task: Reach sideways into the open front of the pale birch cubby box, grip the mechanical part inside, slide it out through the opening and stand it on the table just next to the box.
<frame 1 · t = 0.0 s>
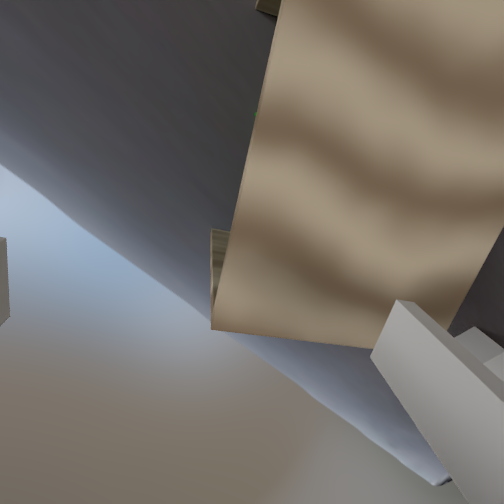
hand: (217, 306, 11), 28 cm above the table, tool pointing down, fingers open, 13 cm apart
cubby box: (302, 149, 37), on the table
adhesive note: (462, 346, 53), on the table
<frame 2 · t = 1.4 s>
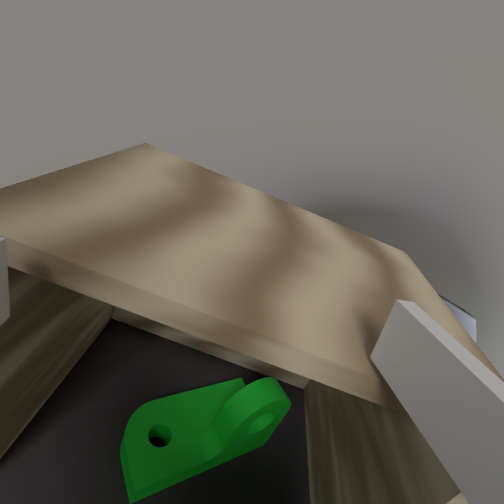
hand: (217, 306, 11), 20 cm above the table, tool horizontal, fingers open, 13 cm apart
cubby box: (189, 424, 28), on the table
mechanical part: (192, 437, 27), on the table
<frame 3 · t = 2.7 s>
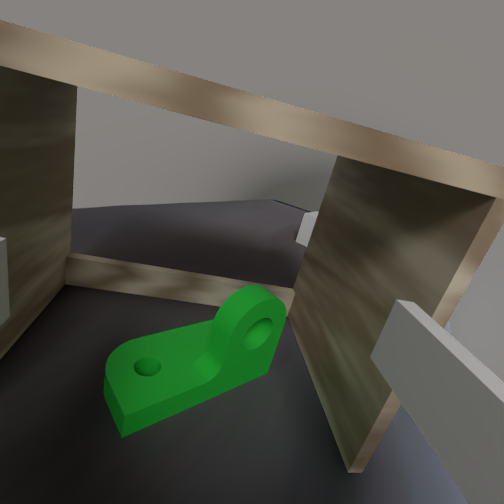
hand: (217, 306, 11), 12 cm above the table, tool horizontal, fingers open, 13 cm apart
cubby box: (176, 358, 25), on the table
mechanical part: (186, 374, 24), on the table
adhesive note: (314, 246, 63), on the table
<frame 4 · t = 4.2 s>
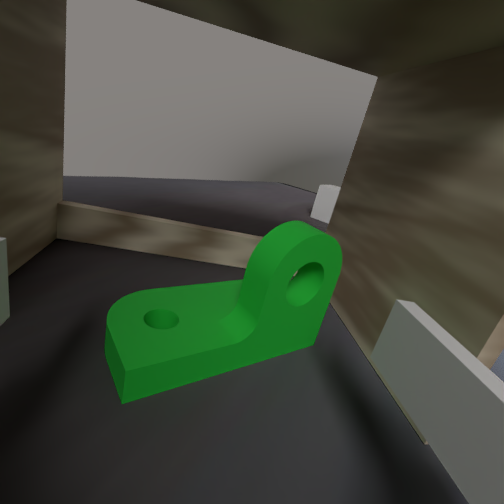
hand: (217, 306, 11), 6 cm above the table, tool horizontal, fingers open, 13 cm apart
cubby box: (191, 314, 21), on the table
mechanical part: (210, 339, 19), on the table
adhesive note: (330, 222, 58), on the table
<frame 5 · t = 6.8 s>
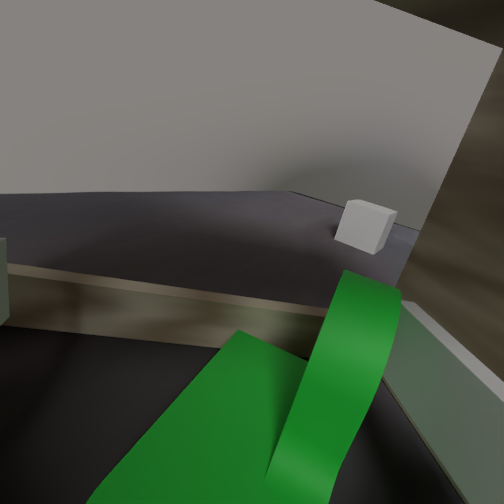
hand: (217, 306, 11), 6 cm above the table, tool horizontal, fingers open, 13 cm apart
mechanical part: (229, 490, 11), on the table, touching gripper
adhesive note: (358, 245, 48), on the table
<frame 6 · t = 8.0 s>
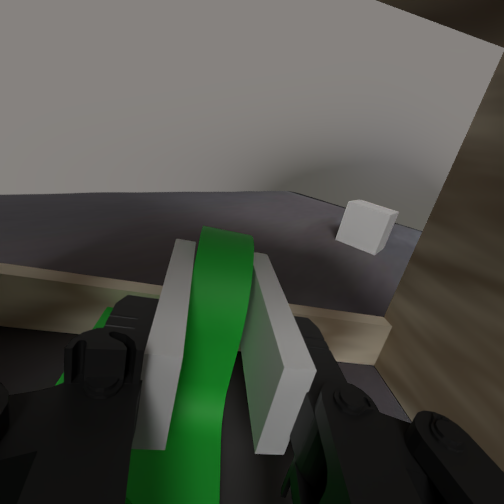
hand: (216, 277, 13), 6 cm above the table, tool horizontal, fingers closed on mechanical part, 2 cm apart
mechanical part: (129, 456, 12), on the table, touching gripper
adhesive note: (359, 245, 48), on the table
when the fingers open (7 cm above the table, at t = 13.9 s): mechanical part drops 1 cm, on the table.
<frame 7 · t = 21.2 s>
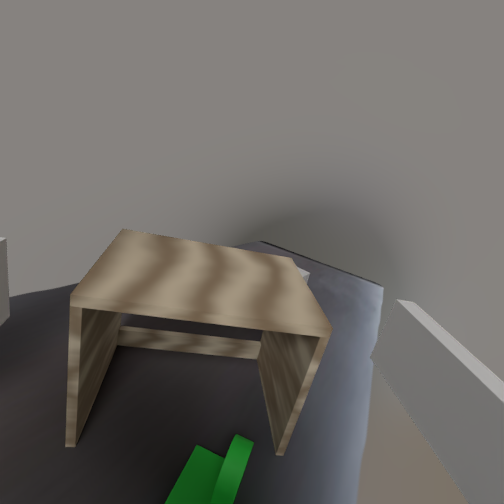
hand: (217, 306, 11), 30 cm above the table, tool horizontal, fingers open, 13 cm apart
cubby box: (186, 393, 44), on the table
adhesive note: (288, 291, 82), on the table
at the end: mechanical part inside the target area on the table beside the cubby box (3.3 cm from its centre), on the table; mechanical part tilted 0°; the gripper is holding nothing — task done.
